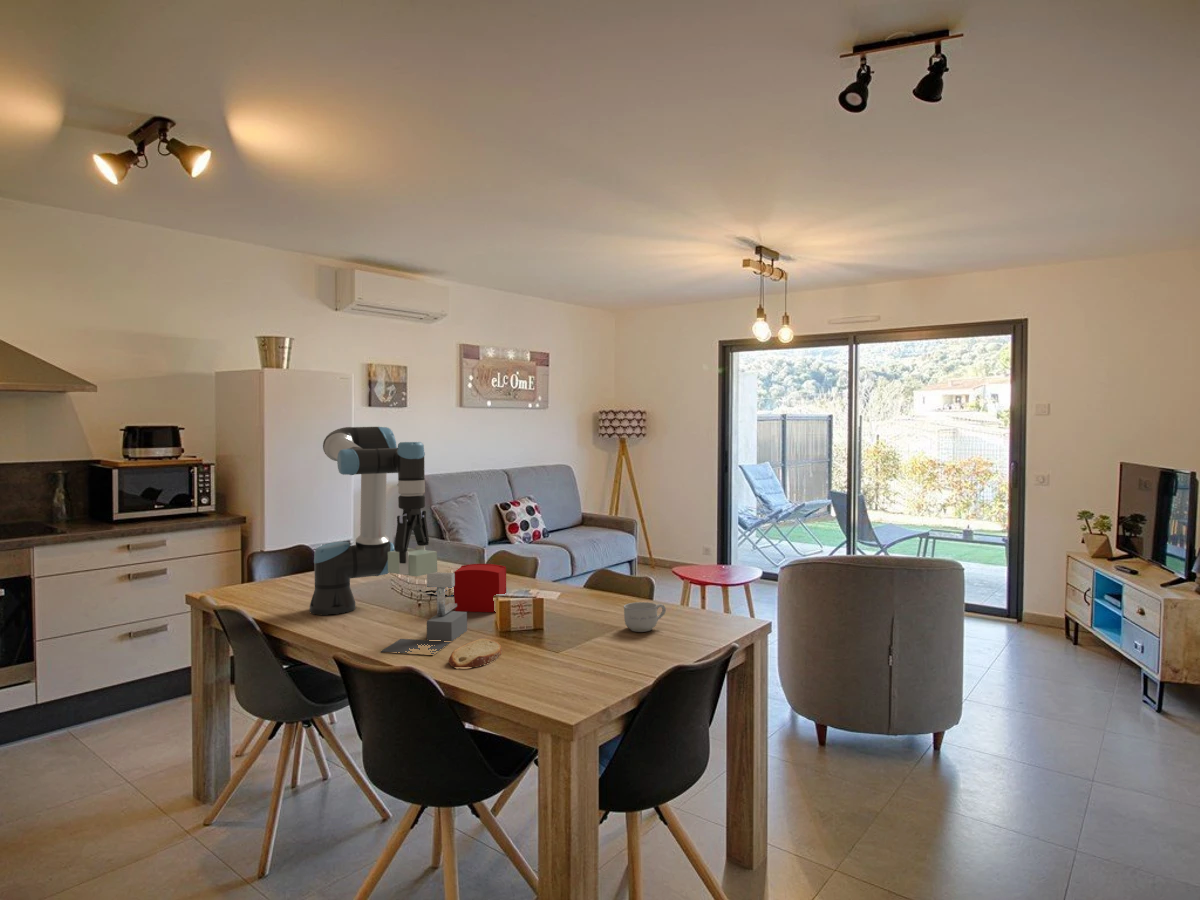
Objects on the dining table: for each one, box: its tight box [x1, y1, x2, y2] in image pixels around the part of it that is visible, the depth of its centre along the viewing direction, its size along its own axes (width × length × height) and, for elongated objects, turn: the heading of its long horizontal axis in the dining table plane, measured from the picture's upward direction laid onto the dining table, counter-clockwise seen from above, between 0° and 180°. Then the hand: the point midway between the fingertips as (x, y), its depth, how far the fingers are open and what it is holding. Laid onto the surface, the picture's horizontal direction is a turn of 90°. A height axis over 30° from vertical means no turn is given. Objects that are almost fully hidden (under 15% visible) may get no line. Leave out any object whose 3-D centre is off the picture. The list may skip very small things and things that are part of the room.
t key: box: [426, 571, 457, 616], centre depth 224 cm, size 11×8×13 cm
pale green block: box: [388, 547, 438, 577], centre depth 208 cm, size 12×8×6 cm, turn 57°
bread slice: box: [448, 638, 503, 668], centre depth 200 cm, size 18×18×4 cm
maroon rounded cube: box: [453, 563, 507, 613], centre depth 252 cm, size 16×11×15 cm
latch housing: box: [426, 610, 468, 642], centre depth 220 cm, size 8×12×6 cm, turn 168°
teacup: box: [623, 601, 667, 633], centre depth 226 cm, size 14×11×8 cm
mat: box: [380, 638, 451, 654], centre depth 208 cm, size 16×12×1 cm
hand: (412, 570), depth 208 cm, fingers closed on pale green block, 10 cm apart
